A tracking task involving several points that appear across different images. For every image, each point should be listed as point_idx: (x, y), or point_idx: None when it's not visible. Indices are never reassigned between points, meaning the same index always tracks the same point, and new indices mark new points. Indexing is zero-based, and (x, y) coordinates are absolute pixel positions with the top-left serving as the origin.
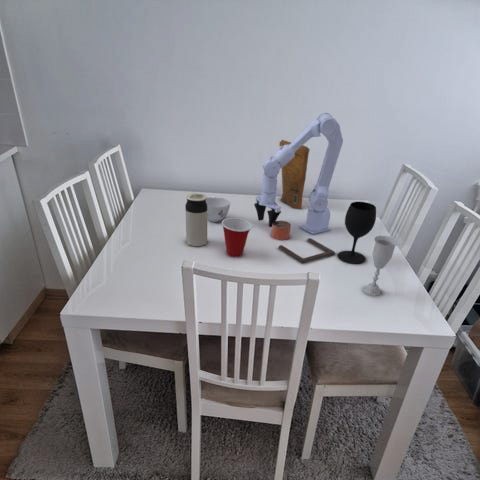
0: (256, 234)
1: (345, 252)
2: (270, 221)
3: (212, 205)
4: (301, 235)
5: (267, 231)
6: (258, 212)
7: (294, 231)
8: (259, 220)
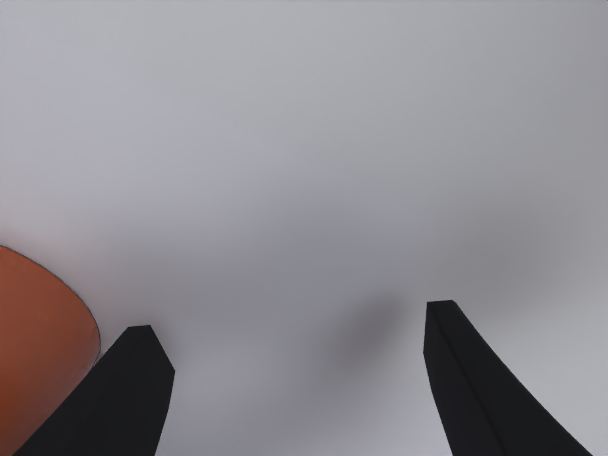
0: (10, 26)
1: None
2: (43, 424)
3: None
4: None
5: (143, 254)
6: (497, 447)
7: None
8: (428, 308)
